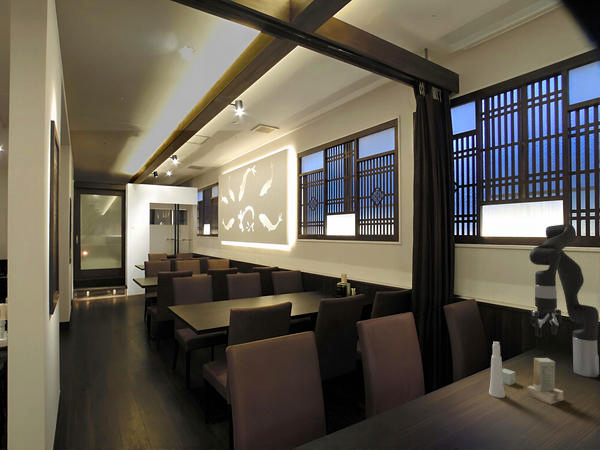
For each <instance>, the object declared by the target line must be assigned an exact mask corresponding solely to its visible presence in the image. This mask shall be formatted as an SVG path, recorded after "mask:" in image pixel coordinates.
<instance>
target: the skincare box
mask: <svg viewBox="0 0 600 450" xmlns="http://www.w3.org/2000/svg"><path fill="white" fill-rule="evenodd" d="M555 370H556V361H554V360H553V359H550V358H549V357H533V381H532V382H533V383H532V385H533V386H534V387H535V388H536V389H538V390H539V391H554V388H555V377H556V375H555V374H556V373H555V372H556V371H555Z"/></svg>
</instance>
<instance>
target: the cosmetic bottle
mask: <svg viewBox="0 0 600 450" xmlns="http://www.w3.org/2000/svg"><path fill="white" fill-rule="evenodd" d="M492 342H493V344H492V355H491V360H490V381H489V382H490V383H489V391H488V394H489V395H490V396H492V397H494V398H500V399H501V398H502V399H503V398H505V397H506V394H505V388H504V383H503V374H502V369H503V361H502V356H501V344H500V341H492Z"/></svg>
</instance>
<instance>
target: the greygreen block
mask: <svg viewBox="0 0 600 450" xmlns="http://www.w3.org/2000/svg"><path fill="white" fill-rule="evenodd" d="M502 374H503V384H505V385H507V386H511V385H514V384H516V381H517V380H516V371H513V370H511V369H507V368H502Z"/></svg>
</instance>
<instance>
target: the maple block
mask: <svg viewBox="0 0 600 450" xmlns="http://www.w3.org/2000/svg"><path fill="white" fill-rule="evenodd" d="M526 387H527V396H529V397H532V398H533V399H536V400H538V401H541V402H544V403H546V404H549V405H553V404H556V403H559V402H562V401H564V398H565V397H564V391H563V390H561V389H558V388H555V387H554V391H539V390H538V389H536V388H535V387H534V386H533V384H532V385H529V386H526Z"/></svg>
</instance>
